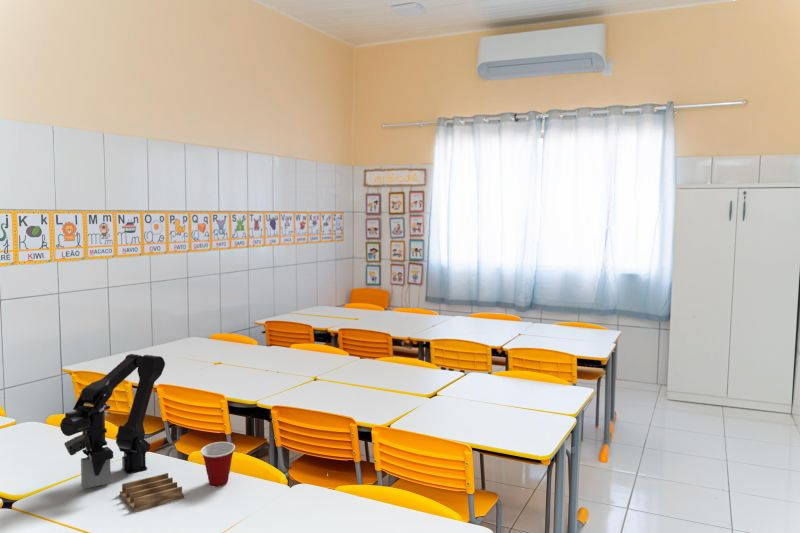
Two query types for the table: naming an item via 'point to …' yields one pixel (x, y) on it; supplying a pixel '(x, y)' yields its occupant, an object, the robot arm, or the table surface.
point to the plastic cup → (218, 462)
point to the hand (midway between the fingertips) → (95, 473)
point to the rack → (150, 492)
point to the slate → (89, 476)
